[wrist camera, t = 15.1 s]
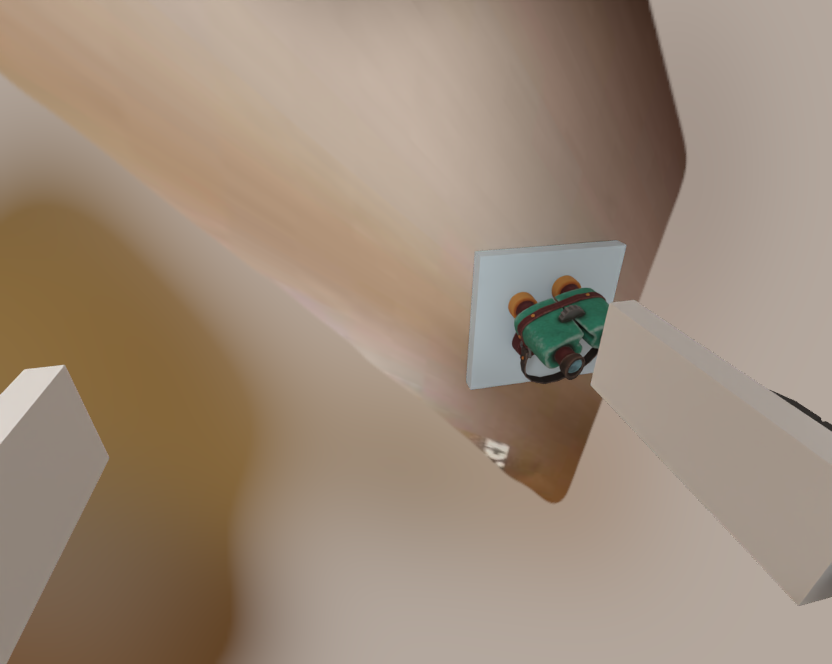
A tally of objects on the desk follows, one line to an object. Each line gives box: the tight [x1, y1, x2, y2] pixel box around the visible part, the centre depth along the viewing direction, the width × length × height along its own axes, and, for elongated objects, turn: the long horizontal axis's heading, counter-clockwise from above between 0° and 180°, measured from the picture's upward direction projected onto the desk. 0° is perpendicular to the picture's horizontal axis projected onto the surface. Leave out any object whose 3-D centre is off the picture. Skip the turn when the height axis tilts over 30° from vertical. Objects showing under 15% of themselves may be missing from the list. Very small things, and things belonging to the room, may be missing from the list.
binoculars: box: [508, 275, 609, 384], centre depth 41 cm, size 9×11×10 cm
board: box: [466, 240, 626, 390], centre depth 46 cm, size 15×15×2 cm
